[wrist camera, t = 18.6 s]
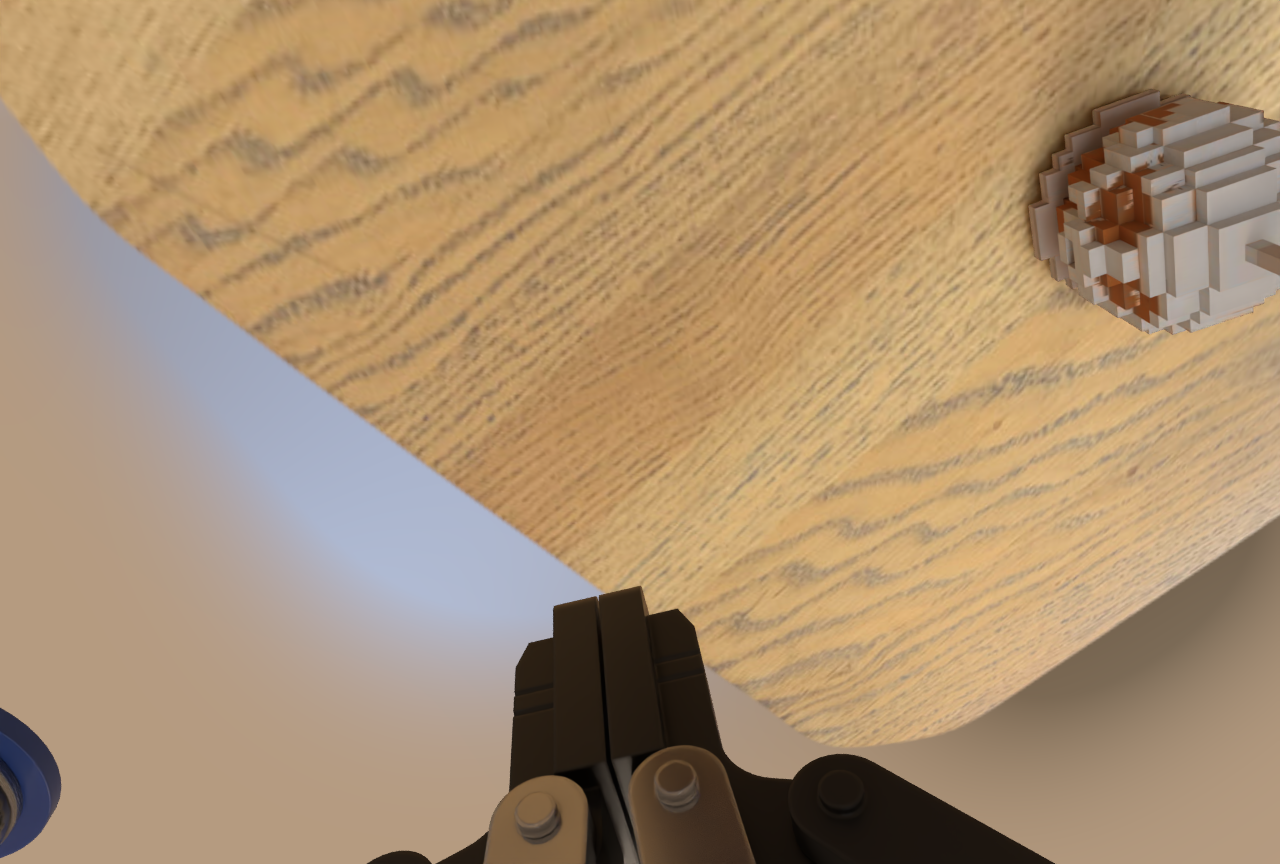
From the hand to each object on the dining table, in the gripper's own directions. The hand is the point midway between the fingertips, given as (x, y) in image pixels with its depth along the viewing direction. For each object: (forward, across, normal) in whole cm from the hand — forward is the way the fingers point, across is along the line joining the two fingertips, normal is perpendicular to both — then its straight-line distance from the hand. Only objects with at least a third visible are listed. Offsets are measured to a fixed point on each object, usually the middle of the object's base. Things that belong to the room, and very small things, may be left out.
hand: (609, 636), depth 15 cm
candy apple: (+22, -22, +2) cm, 31 cm away
